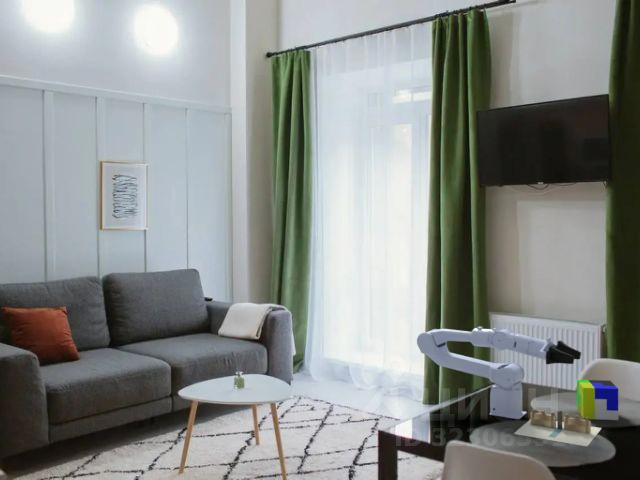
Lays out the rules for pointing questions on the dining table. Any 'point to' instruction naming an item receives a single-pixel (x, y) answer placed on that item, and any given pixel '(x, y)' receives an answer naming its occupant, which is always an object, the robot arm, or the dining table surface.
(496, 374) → the robot arm
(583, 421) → the fence panel
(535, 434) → the mat
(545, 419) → the fence fixed panel
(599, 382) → the puzzle toy
